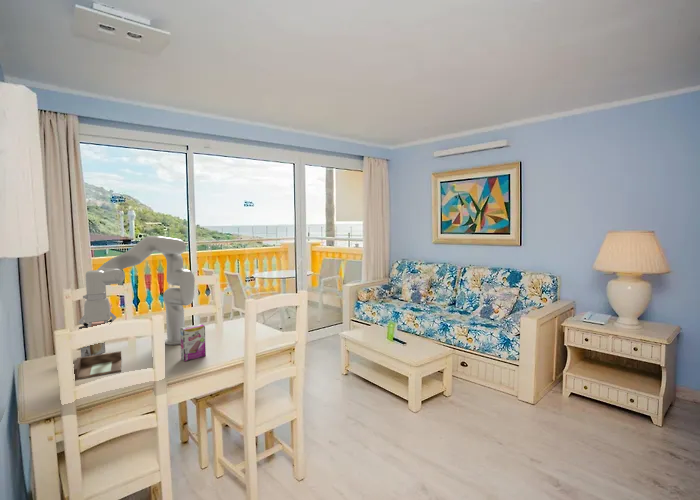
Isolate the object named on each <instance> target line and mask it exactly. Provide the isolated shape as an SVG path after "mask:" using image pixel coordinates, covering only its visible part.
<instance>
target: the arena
mask: <svg viewBox="0 0 700 500" xmlns="http://www.w3.org/2000/svg"><path fill="white" fill-rule="evenodd" d="M122 361H123V358H122V351H121V350H120V351H115V352H114V351H113V352H107V353H101V354H99V355H93V356H87V357H81V356H80V357H77V358H76V359H75V362H74V366H73V368H74V374H75V380H74V381H76V379H77V380H80V379H79V378H83V379H87V377H88V378H93V377H92V376H94V377H99V376H103V375H102V374H105V375H108V374H107V373H110V374H115V373H116V374H117V373H121V372H122ZM98 375H99V376H98Z"/></svg>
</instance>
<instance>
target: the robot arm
mask: <svg viewBox="0 0 700 500" xmlns="http://www.w3.org/2000/svg"><path fill="white" fill-rule="evenodd" d="M185 251H186V242H185V241H184V240H182V239H179V238H173V237H166V236H159V235H157V236H156V235H150V236H149V235H148V236H145V237H144V238H142V239H141V240H140V241H138V242H137V243H136V244H135V245H133V246H132V247H131V248H130V249H128V250H127V251H125V252H123V253H121V254H119V255H117V256H114V257H112V258H110V259H109V260H108V261H106V262H104V263H103V264H102V265H101V266H100V267H99V268H97V269H95V270H94V269H93V270H89V271H86V272H85V291H86V294H85V295H82V299H84V300H85V299H86V300H85V301H84V305H83V316H81V318H80V319H79V320H78V324H81V325H82V326H86V327H87V328H88V327H91V324H92V322H100V321H104V323H108V322H111V323H112V322H114V321H115V320H116V319H117V316H116V315H115V314H114V313H112V311H111V307H110V300H109V298H107V286H106V285H117V284H121V283H122V282H123V281H124V280H125V278H126V275H125V272H124V271H123V270H124V269H127V268H130V267H131V268H132V267H135V266H137V265H140V264H141V263H143V262H144V261H145V260H146V259H147V258H149V257H150V256H151V255H152V254H154V253H161V254H162V255H163V256H164V258H165V259H166V281H167V283H168V284H169V285H171V286H177V287H170V288H167V289H166V290H164V292H163V296H162V298H163V303H164V308H165V317H166V318H165V322H166V339H164V341H165V343H164V344H165V345H168V346H173V345H175V346H176V345H181V341H180V328H183V327H186V325H185V309H184V306H185V307H186V306H189V305H191V304H192V303H193V301H194V298H195V282H196V281H195V280H196V279H195V274H194V272H192V271H191V270H189V269H184V260H183V259H184V258H183V256H182V254H183V253H184V252H185ZM178 286H179V287H178Z"/></svg>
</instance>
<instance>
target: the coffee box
mask: <svg viewBox="0 0 700 500" xmlns="http://www.w3.org/2000/svg"><path fill="white" fill-rule="evenodd" d="M91 325H92V324H91ZM82 328H87V327H86V326H84V325H82V326H78V330H79V329H82ZM105 343H106V341H105V342H104V343H98V344H94V345H90V346H87V347H84V348H80V358H81V357H87V356H93V355H100V354H105V352H106V344H105Z"/></svg>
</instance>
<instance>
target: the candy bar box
mask: <svg viewBox="0 0 700 500" xmlns="http://www.w3.org/2000/svg"><path fill="white" fill-rule="evenodd" d="M180 341H181V344H180V360H182V361H183V362H187V361H191V360H195V359H199V358H203V357H206V352H207V351H206V350H207V349H206V325H204V324H202V323H200V324H194V325H187V326H185V327H183V328H180Z"/></svg>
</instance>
